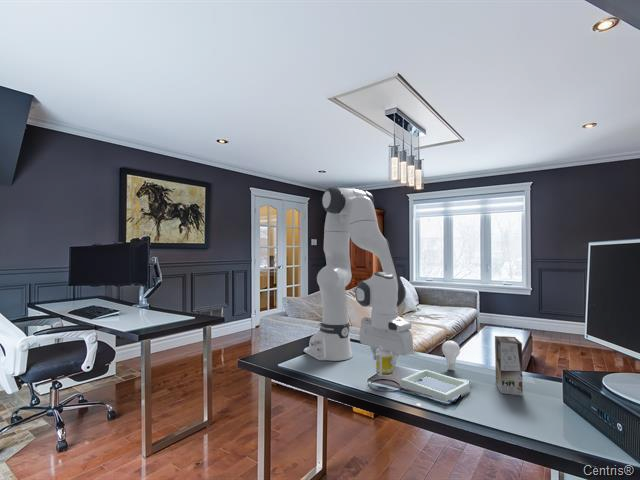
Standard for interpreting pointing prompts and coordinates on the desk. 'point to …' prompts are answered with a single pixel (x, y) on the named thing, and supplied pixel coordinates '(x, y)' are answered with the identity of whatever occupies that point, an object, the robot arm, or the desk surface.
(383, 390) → the socket ring
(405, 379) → the tray
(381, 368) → the supplement bottle
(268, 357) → the desk surface
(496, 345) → the coffee box
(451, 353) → the lightbulb
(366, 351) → the desk surface
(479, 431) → the desk surface
